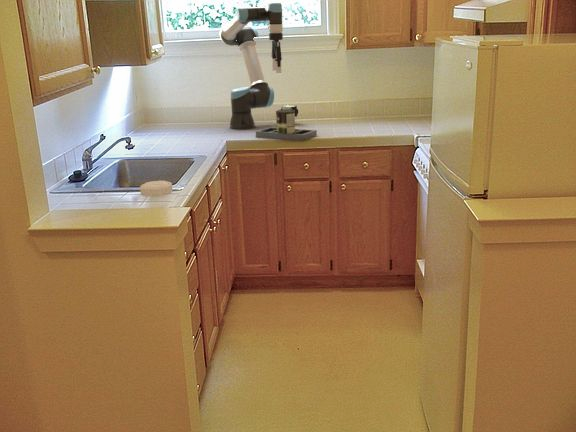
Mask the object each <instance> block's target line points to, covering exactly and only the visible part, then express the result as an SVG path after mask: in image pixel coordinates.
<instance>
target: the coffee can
mask: <svg viewBox="0 0 576 432" xmlns="http://www.w3.org/2000/svg"><path fill="white" fill-rule="evenodd" d="M275 115H276V116H275V117H276V120H275V121H276V128H277V133H289V134H290V133H293V132H295V129H296V123H295V122H296V120H295V119H296V118H295V110H289V109H286V110H281V109H278V110H275Z"/></svg>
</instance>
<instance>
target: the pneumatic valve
mask: <svg viewBox="0 0 576 432" xmlns="http://www.w3.org/2000/svg"><path fill="white" fill-rule="evenodd" d="M286 109H289V110H295V117H296V118H297V117H298V114H299V108H298V106H297V105H291V104H290V103H288V104H286V105H281V108H280V110H286Z"/></svg>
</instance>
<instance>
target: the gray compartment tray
mask: <svg viewBox="0 0 576 432" xmlns="http://www.w3.org/2000/svg"><path fill="white" fill-rule="evenodd" d="M317 136H318V134H317V130H315V129H305V128H304V129H301V128H295V132H293V133H290V134H289V133H277V127H272V126H271V127H267V128H263V129H261V130H260V129H259V130H257V131H255V138H260V137H262V138H261V139H275V140H288V141H289V140H290V141H307V140H309V139H312V138H314V137H317Z"/></svg>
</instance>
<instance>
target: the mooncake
mask: <svg viewBox="0 0 576 432" xmlns="http://www.w3.org/2000/svg"><path fill="white" fill-rule="evenodd" d="M139 189H140V195H142V196H145V197H160V196H166V195H169V194H171V193H172V192H173V183H172V182H170V181H166V180H162V179H161V180H151V181H147V182H145V183H143V184H141V185H140V186H139Z"/></svg>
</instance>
